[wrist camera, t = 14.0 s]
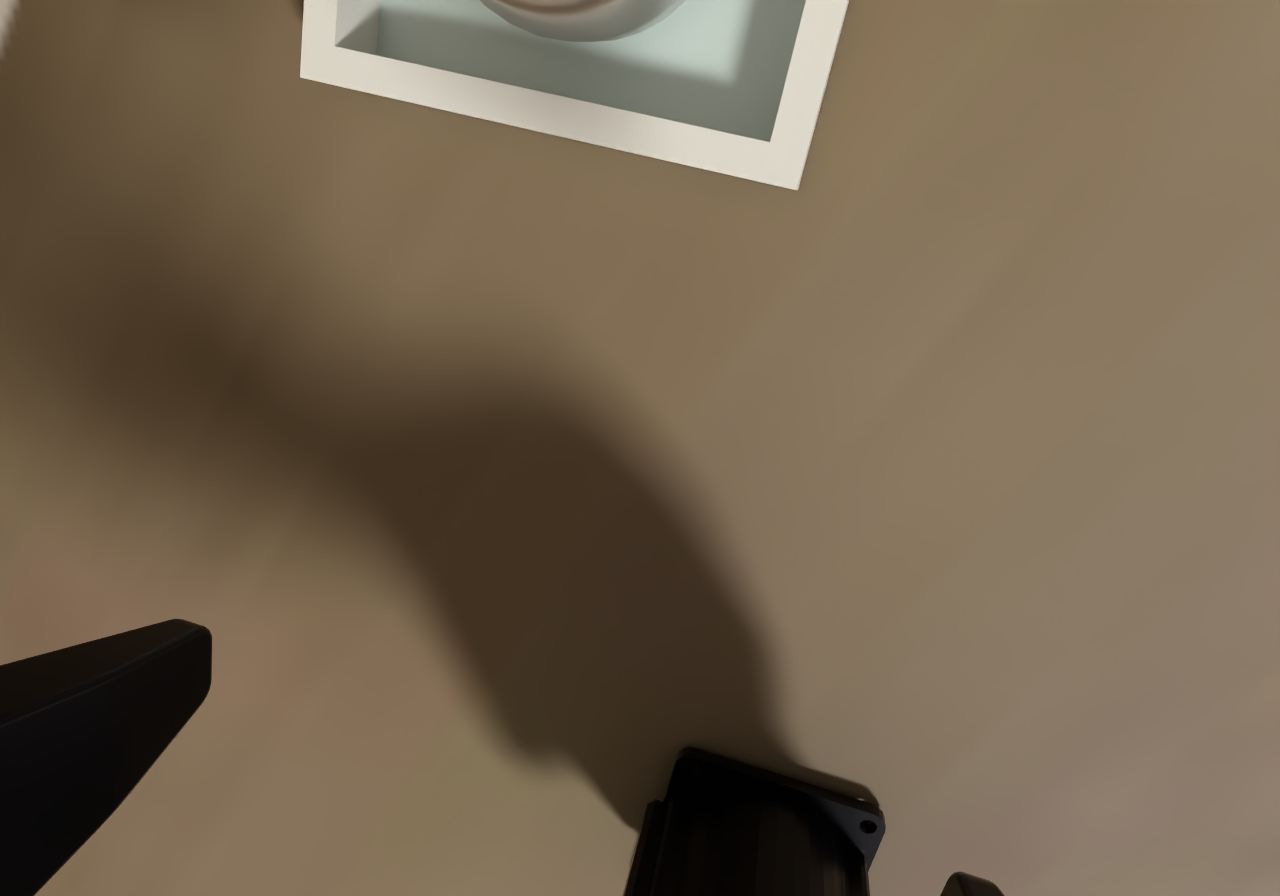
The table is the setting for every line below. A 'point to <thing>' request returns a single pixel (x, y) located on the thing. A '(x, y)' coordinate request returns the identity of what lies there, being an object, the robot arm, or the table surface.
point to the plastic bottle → (583, 17)
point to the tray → (602, 75)
